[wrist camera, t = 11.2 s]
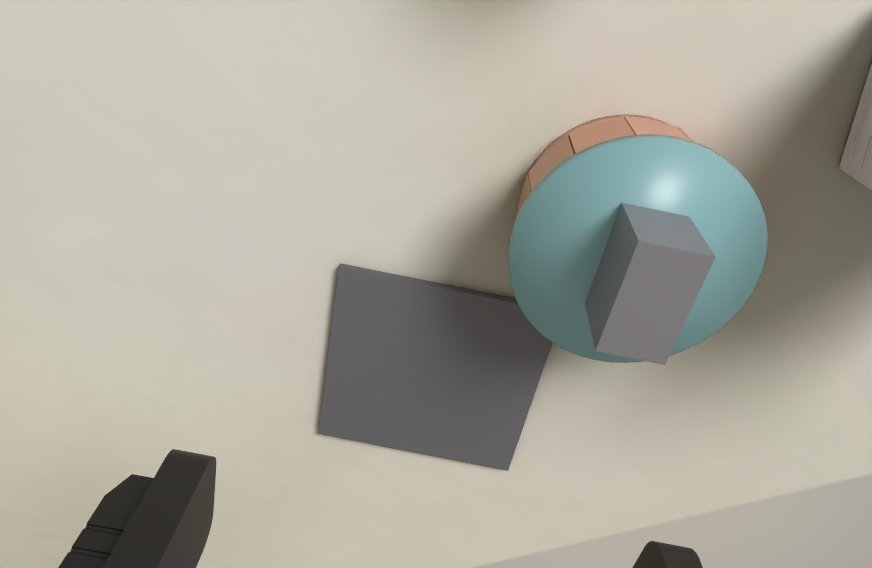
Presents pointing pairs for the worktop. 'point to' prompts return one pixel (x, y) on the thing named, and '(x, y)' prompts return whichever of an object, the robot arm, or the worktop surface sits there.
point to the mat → (429, 368)
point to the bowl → (591, 143)
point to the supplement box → (860, 140)
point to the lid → (637, 248)
